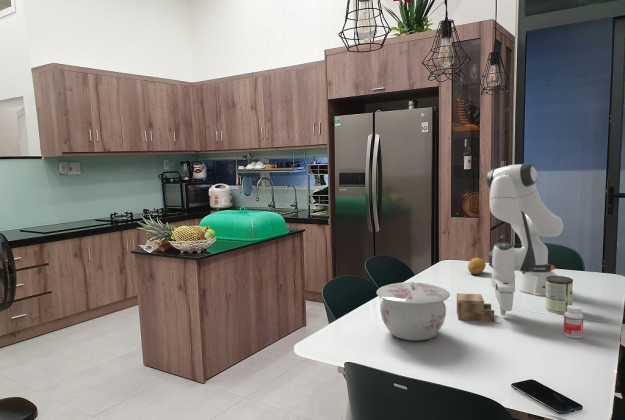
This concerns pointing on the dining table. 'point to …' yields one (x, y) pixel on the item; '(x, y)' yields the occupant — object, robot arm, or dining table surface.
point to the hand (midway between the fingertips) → (503, 314)
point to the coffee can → (558, 293)
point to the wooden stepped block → (473, 308)
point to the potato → (476, 265)
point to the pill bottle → (573, 322)
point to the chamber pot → (413, 309)
